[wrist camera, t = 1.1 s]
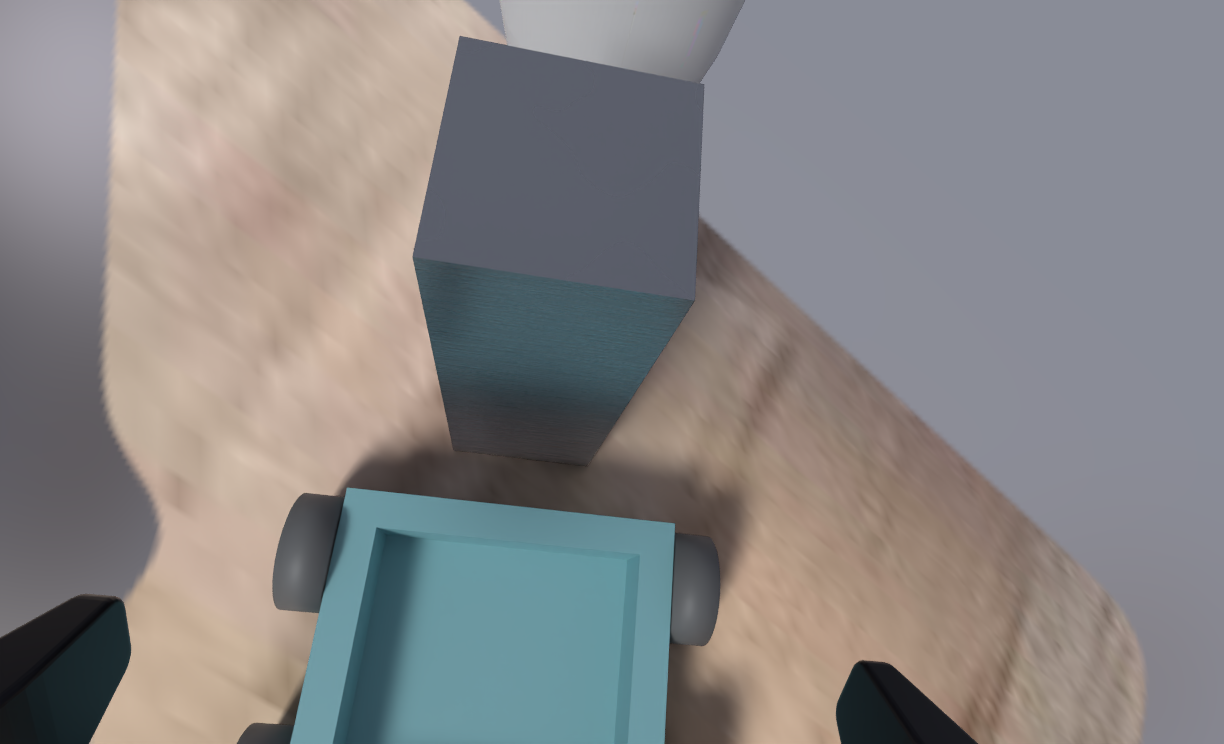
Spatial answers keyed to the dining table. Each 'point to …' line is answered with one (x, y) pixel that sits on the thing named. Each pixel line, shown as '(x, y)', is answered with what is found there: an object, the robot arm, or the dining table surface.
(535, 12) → the cup
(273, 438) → the dining table surface
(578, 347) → the grey tall block
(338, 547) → the chassis
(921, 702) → the robot arm
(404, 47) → the dining table surface
